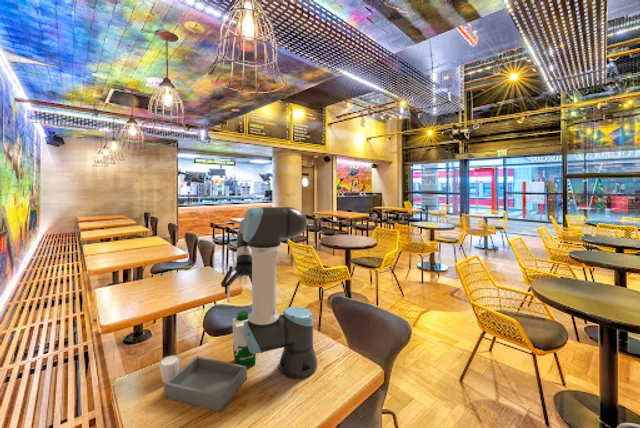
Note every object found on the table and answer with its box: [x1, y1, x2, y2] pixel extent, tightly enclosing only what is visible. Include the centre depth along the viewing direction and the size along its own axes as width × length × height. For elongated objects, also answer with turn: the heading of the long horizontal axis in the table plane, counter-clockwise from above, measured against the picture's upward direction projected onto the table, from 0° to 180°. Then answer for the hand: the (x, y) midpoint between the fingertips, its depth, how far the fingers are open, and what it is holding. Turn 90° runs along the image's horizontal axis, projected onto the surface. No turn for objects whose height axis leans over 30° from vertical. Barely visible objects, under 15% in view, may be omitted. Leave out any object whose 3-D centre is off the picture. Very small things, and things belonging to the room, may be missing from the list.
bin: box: [163, 356, 248, 413], centre depth 98 cm, size 22×16×5 cm
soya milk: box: [232, 311, 257, 368], centre depth 111 cm, size 9×9×20 cm
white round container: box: [158, 354, 181, 384], centre depth 103 cm, size 7×7×7 cm
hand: (244, 299), depth 121 cm, fingers open, 13 cm apart
